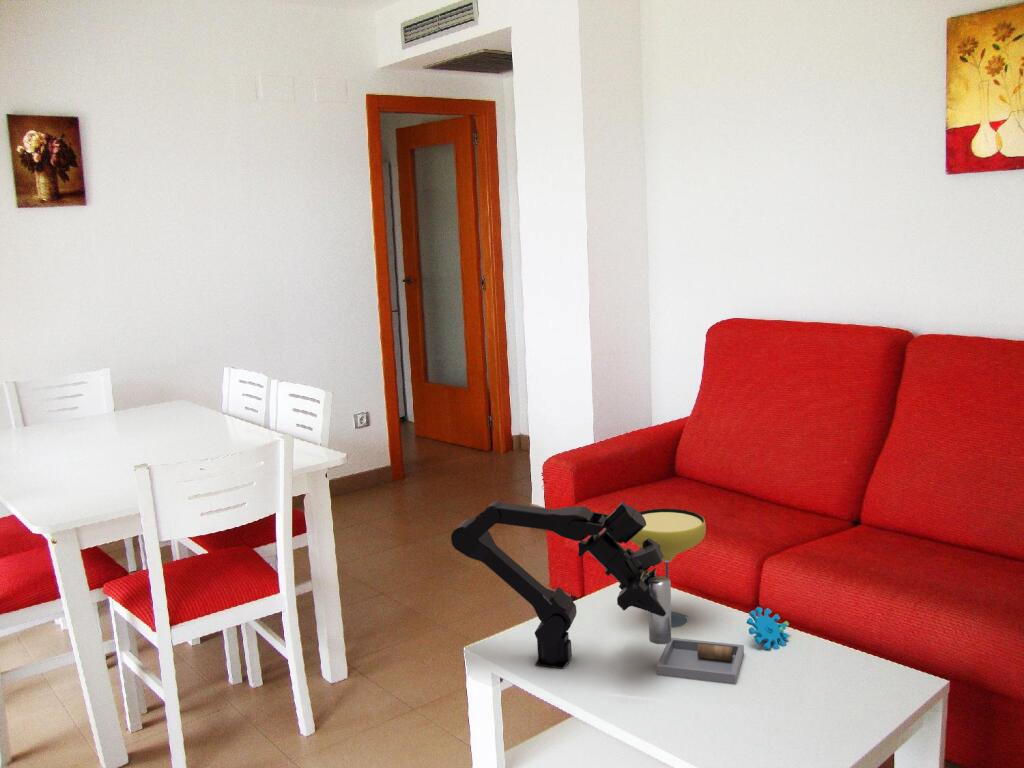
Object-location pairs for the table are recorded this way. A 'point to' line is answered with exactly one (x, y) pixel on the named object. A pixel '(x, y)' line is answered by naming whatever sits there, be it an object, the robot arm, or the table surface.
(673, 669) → the tray
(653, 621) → the sleeve
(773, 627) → the gear
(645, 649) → the table surface
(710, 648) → the rod
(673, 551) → the cocktail glass
